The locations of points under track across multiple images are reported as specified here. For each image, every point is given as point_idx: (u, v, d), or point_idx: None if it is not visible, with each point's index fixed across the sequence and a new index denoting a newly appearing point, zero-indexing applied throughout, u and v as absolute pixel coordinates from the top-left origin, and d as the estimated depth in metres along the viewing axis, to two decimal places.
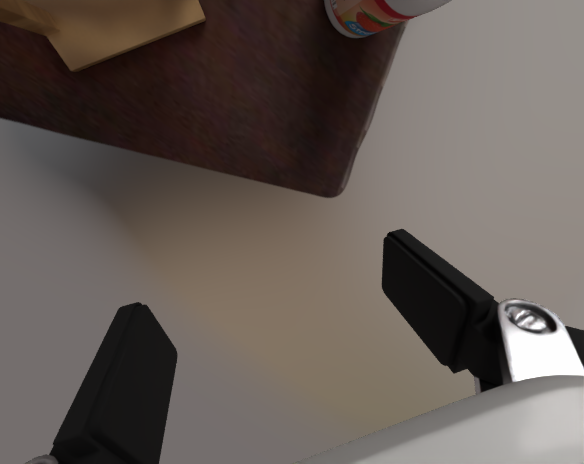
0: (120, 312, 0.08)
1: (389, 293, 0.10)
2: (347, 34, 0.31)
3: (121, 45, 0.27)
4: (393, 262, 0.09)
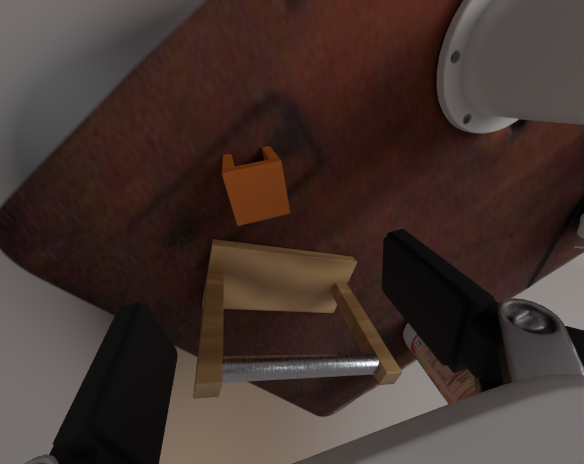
0: (120, 312, 0.08)
1: (389, 293, 0.10)
2: (409, 348, 0.39)
3: (260, 307, 0.28)
4: (393, 262, 0.09)
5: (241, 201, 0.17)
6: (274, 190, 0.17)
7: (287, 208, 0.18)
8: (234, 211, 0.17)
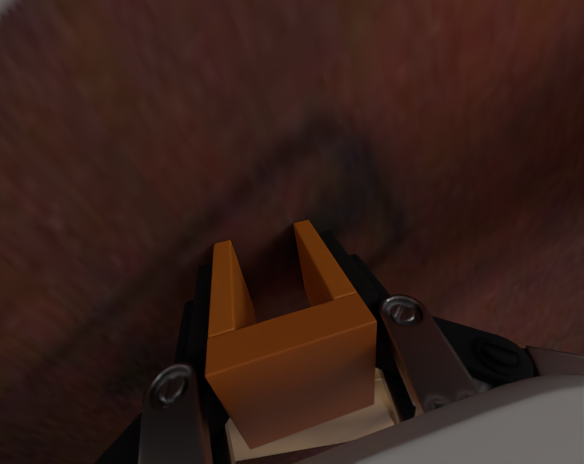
0: (201, 268, 0.09)
1: None
2: None
3: (280, 450, 0.18)
4: None
5: (261, 413, 0.06)
6: (347, 378, 0.07)
7: (370, 399, 0.08)
8: (242, 432, 0.07)
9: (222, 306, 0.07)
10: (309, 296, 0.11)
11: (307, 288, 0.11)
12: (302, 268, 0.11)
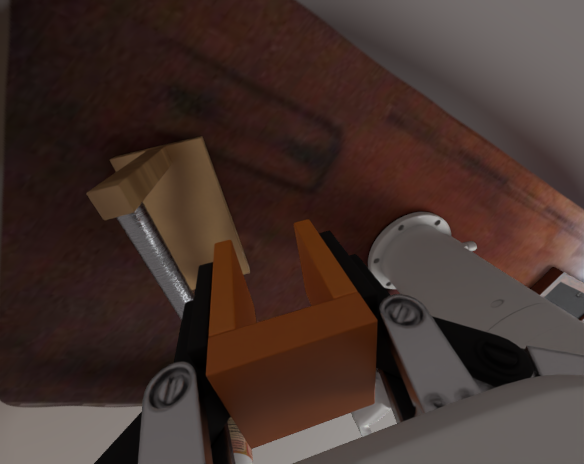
0: (201, 268, 0.09)
1: None
2: None
3: None
4: None
5: (262, 412, 0.06)
6: (347, 377, 0.07)
7: (371, 398, 0.08)
8: (243, 431, 0.07)
9: (223, 305, 0.07)
10: (309, 296, 0.11)
11: (307, 288, 0.11)
12: (302, 268, 0.11)
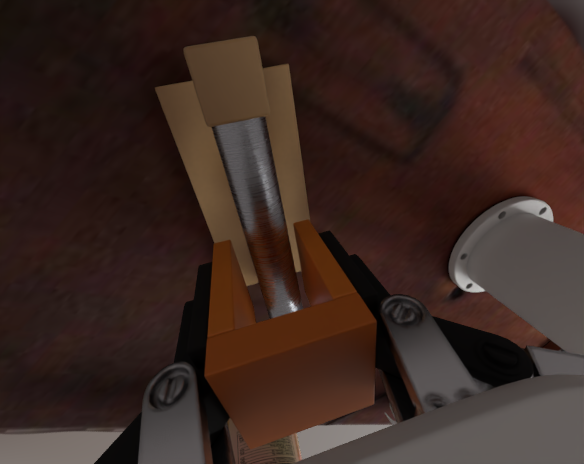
0: (201, 268, 0.09)
1: None
2: None
3: (200, 188, 0.17)
4: None
5: (261, 413, 0.06)
6: (347, 377, 0.07)
7: (370, 398, 0.07)
8: (242, 432, 0.07)
9: (222, 306, 0.07)
10: (309, 296, 0.11)
11: (307, 288, 0.11)
12: (302, 268, 0.11)
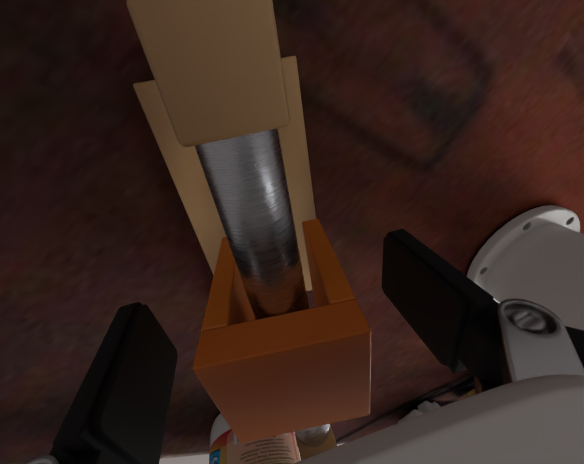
0: (120, 312, 0.08)
1: (389, 293, 0.10)
2: (212, 433, 0.27)
3: (190, 203, 0.15)
4: (393, 262, 0.09)
5: (250, 410, 0.06)
6: (339, 385, 0.06)
7: (365, 408, 0.07)
8: (232, 426, 0.07)
9: (219, 300, 0.07)
10: (315, 296, 0.11)
11: (313, 288, 0.11)
12: (309, 267, 0.11)
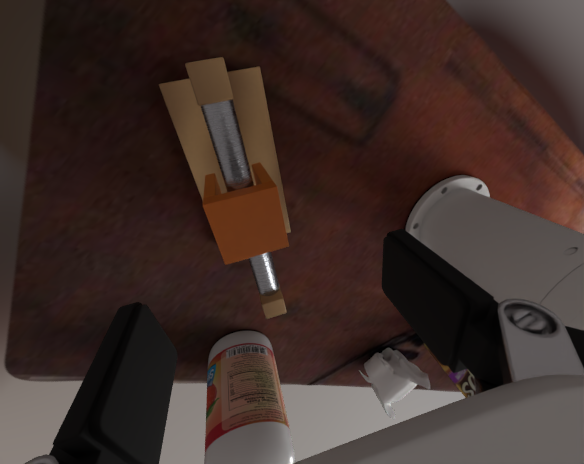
0: (120, 312, 0.08)
1: (389, 293, 0.10)
2: (210, 356, 0.34)
3: (193, 163, 0.22)
4: (393, 262, 0.09)
5: (229, 236, 0.14)
6: (269, 221, 0.14)
7: (285, 240, 0.15)
8: (220, 248, 0.14)
9: (210, 190, 0.14)
10: None
11: None
12: None
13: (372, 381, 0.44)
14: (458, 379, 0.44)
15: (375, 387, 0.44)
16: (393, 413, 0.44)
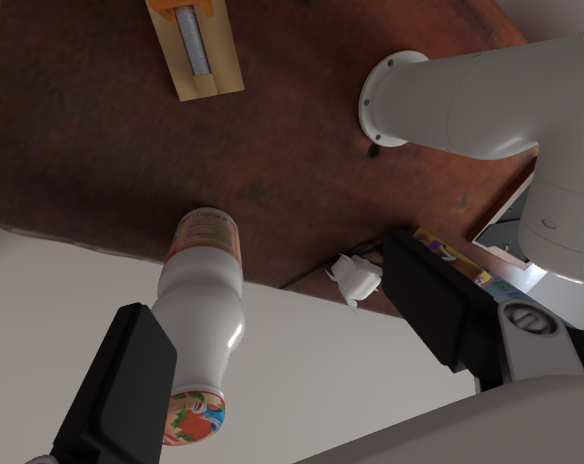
0: (120, 312, 0.08)
1: (389, 293, 0.10)
2: None
3: None
4: (393, 262, 0.09)
5: None
6: None
7: None
8: None
9: None
10: None
11: None
12: None
13: (337, 279, 0.46)
14: None
15: (339, 284, 0.46)
16: (357, 310, 0.46)
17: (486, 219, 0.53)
